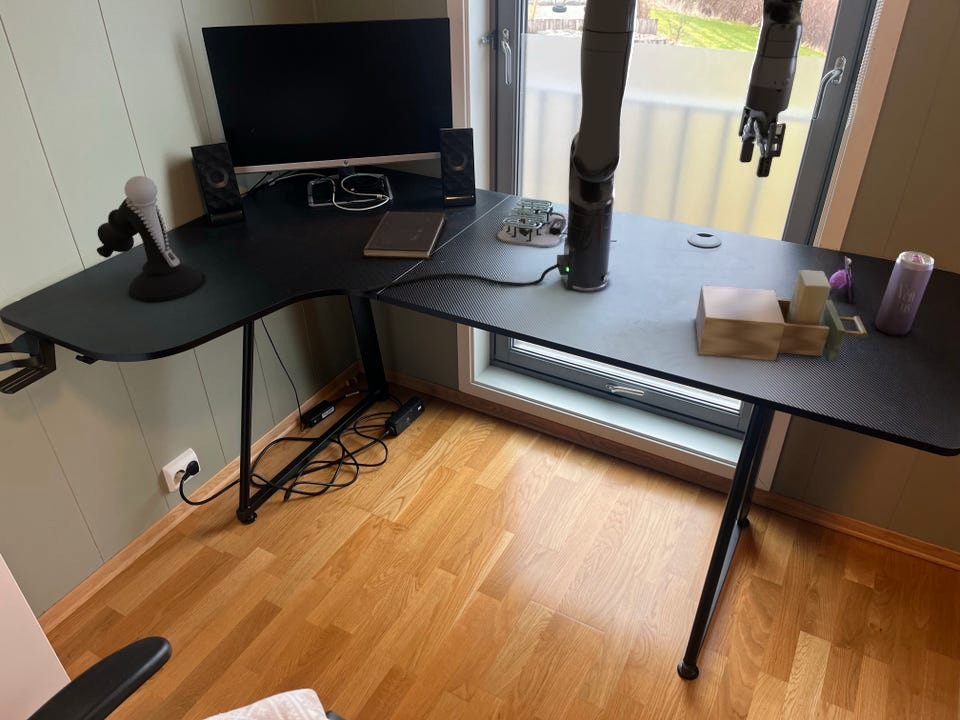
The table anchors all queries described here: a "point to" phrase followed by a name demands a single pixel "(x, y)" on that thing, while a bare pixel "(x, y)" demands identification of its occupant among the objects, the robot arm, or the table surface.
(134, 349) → the table surface
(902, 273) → the beverage can
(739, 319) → the cabinet
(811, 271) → the cosmetic box
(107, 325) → the table surface
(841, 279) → the purple figurine
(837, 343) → the drawer
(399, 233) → the hardcover book
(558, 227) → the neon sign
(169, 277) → the sculpture
